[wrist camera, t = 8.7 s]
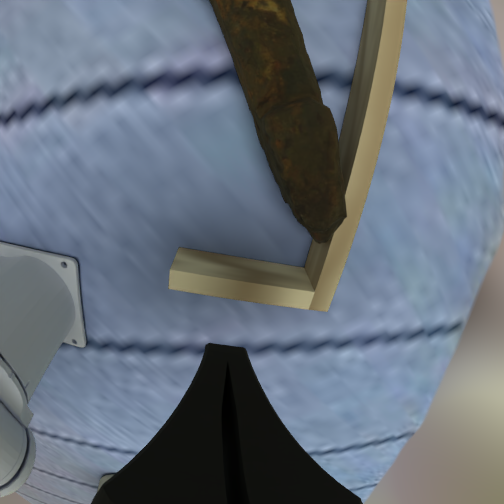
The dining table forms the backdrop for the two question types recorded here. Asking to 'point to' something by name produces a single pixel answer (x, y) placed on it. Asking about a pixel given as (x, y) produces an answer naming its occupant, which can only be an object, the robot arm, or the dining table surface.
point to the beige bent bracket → (355, 187)
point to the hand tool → (287, 109)
